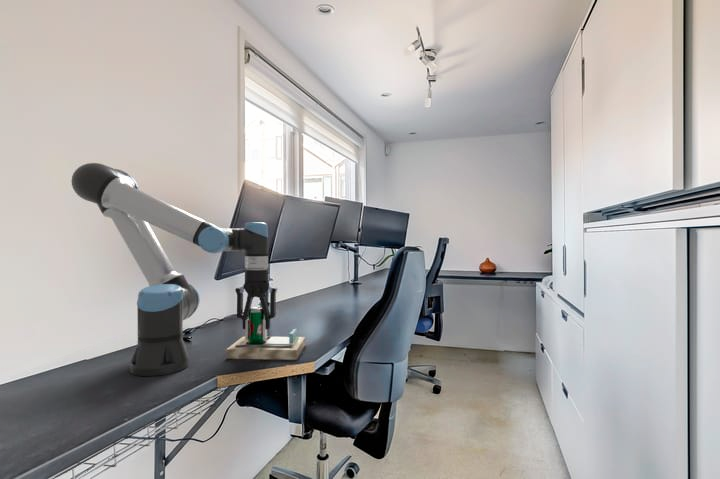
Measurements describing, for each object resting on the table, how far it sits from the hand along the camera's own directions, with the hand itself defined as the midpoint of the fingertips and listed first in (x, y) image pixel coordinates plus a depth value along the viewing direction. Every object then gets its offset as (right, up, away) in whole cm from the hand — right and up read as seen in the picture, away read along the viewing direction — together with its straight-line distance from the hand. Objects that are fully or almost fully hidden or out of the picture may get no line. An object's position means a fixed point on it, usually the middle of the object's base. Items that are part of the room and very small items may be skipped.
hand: (256, 338), depth 130 cm
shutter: (+8, -1, 0) cm, 9 cm away
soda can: (0, -2, 0) cm, 2 cm away
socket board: (+4, -4, 0) cm, 6 cm away
